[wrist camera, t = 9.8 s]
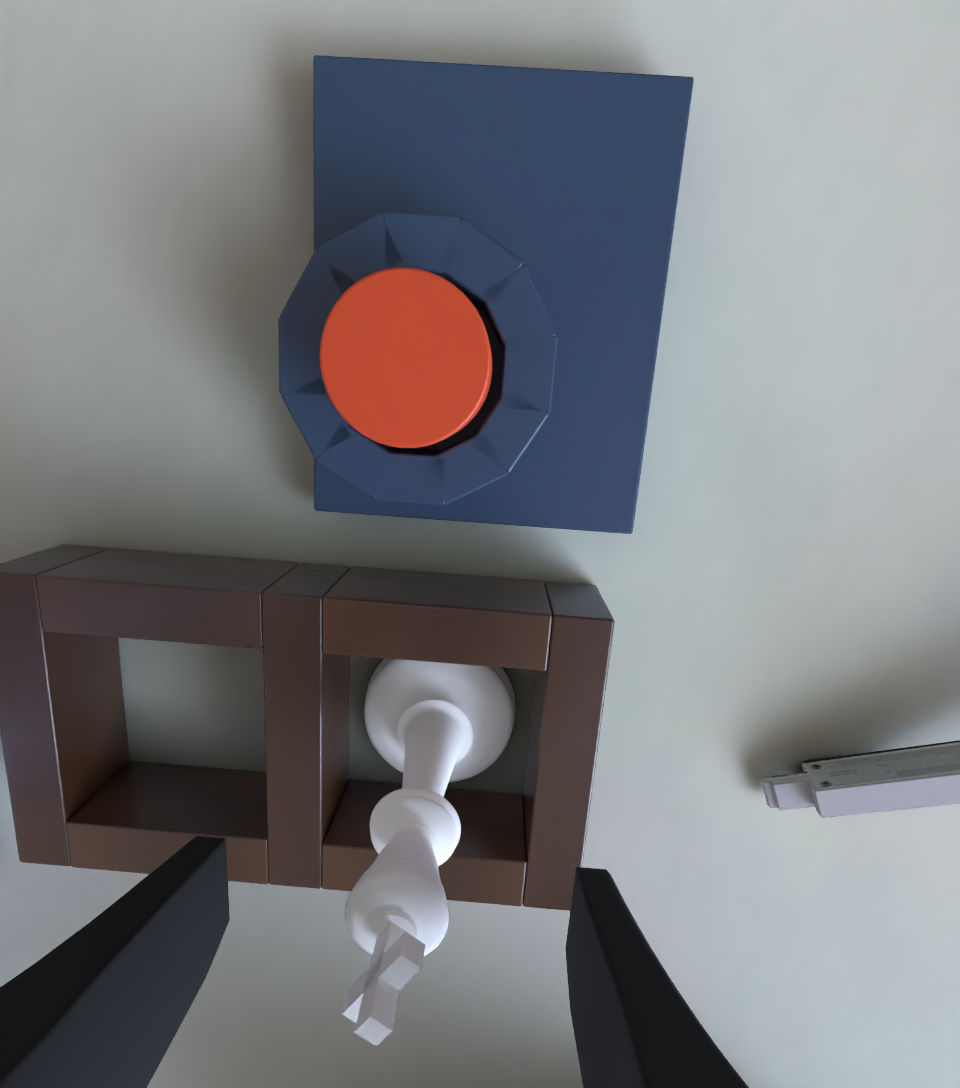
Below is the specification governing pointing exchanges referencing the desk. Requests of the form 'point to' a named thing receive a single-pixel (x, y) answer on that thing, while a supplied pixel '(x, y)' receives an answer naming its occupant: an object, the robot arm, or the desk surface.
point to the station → (497, 277)
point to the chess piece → (417, 817)
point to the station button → (405, 358)
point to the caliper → (871, 781)
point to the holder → (288, 715)
